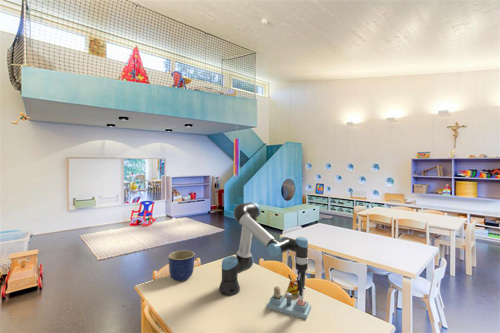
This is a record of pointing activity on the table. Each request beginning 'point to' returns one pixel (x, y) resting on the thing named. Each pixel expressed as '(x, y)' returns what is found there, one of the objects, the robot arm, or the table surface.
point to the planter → (181, 264)
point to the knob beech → (277, 293)
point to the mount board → (289, 307)
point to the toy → (293, 287)
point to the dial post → (288, 299)
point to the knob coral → (301, 302)
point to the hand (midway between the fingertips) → (301, 299)
